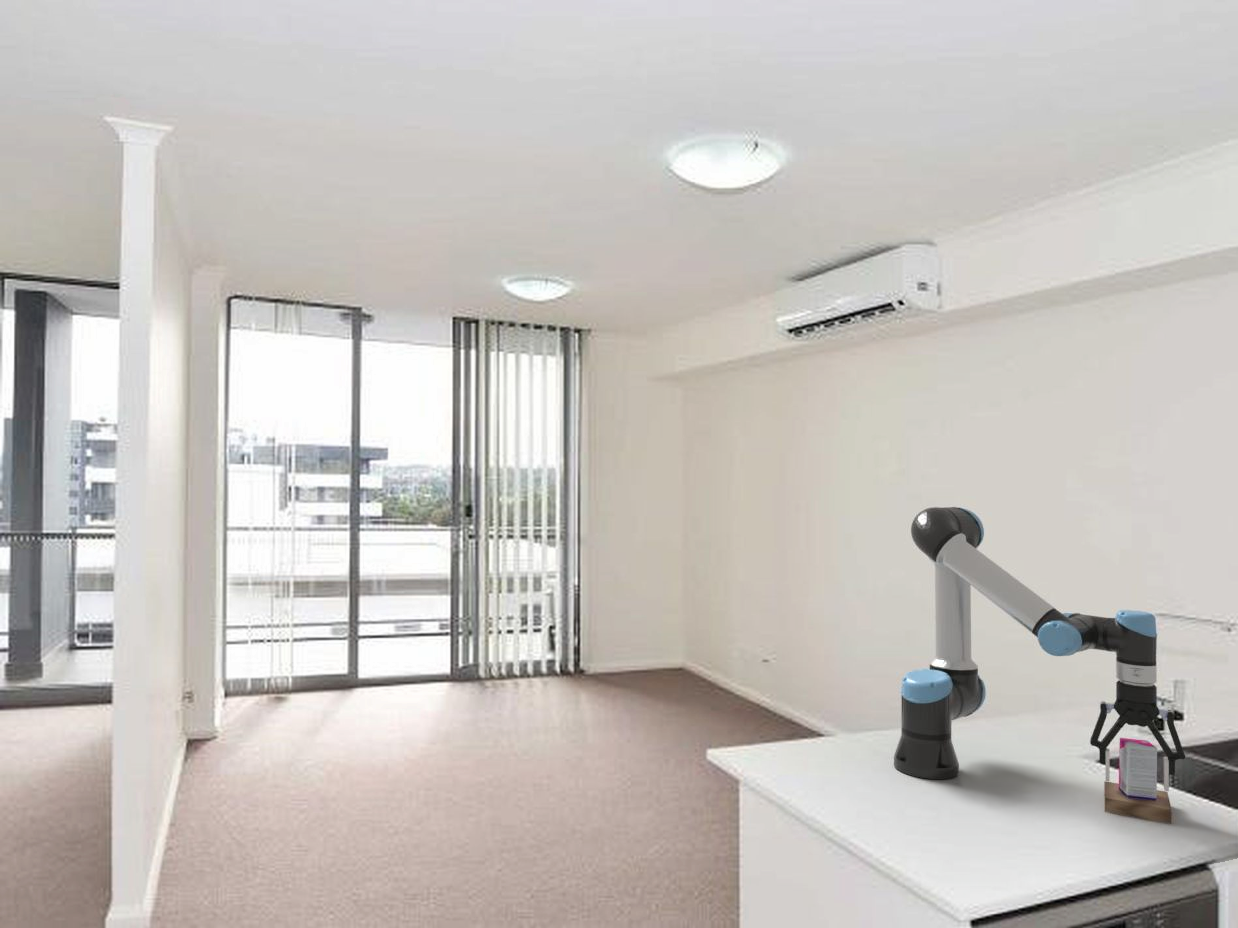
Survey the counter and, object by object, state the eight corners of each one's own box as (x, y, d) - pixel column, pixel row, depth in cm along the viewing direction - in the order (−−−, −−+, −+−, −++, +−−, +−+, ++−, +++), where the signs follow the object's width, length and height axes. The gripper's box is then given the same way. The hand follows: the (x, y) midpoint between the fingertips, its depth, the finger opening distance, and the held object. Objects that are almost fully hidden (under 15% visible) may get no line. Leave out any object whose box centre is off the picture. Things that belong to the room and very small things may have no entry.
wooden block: (1104, 811, 176) (1104, 797, 177) (1104, 794, 187) (1104, 780, 187) (1171, 823, 170) (1171, 809, 170) (1167, 805, 181) (1167, 791, 181)
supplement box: (1157, 801, 175) (1157, 747, 175) (1126, 798, 176) (1127, 744, 177) (1147, 791, 181) (1147, 739, 181) (1117, 788, 182) (1117, 736, 182)
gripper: (1076, 678, 182) (1076, 778, 181) (1201, 693, 170) (1201, 800, 170) (1077, 672, 188) (1077, 769, 188) (1197, 685, 177) (1198, 789, 176)
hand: (1136, 784), depth 179 cm, fingers open, 10 cm apart
